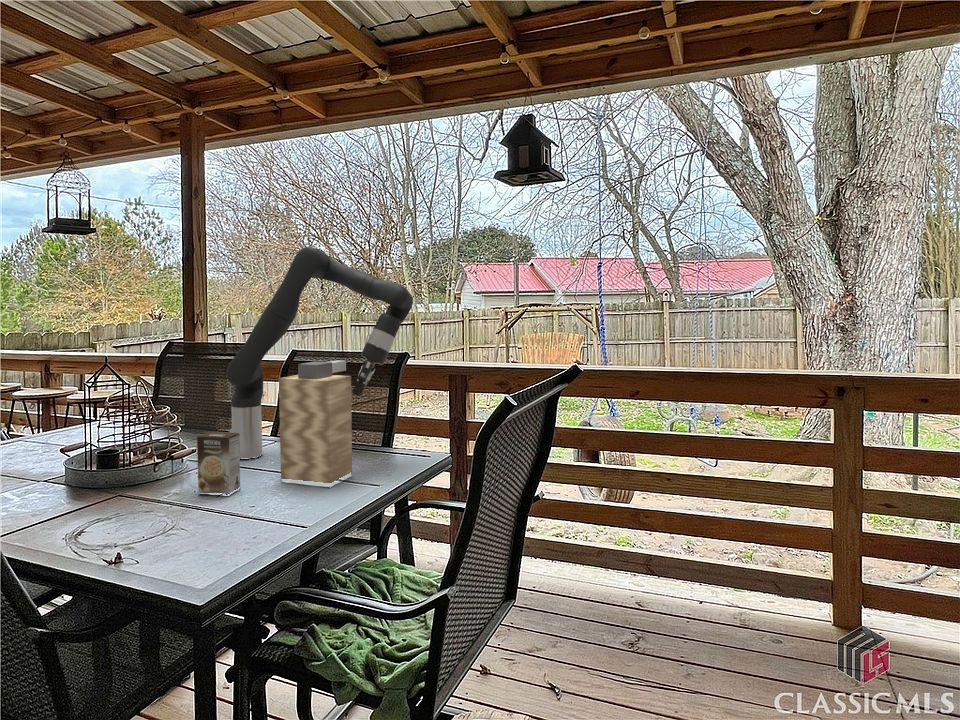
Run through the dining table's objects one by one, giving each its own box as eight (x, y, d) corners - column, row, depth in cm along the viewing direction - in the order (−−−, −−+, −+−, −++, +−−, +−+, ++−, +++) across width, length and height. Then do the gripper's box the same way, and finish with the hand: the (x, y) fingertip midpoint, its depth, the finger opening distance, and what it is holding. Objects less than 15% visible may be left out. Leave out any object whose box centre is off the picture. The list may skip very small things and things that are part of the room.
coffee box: (197, 495, 161) (194, 436, 159) (210, 488, 167) (208, 431, 166) (230, 497, 160) (228, 437, 159) (241, 489, 166) (240, 432, 165)
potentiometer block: (298, 378, 171) (298, 364, 170) (333, 371, 188) (333, 358, 188) (316, 379, 169) (316, 364, 168) (350, 372, 186) (350, 359, 186)
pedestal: (281, 482, 173) (278, 378, 170) (305, 471, 184) (303, 373, 182) (330, 488, 168) (328, 380, 165) (352, 476, 180) (351, 376, 177)
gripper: (367, 344, 193) (346, 391, 191) (365, 338, 179) (342, 389, 177) (389, 353, 194) (368, 400, 191) (389, 349, 180) (366, 399, 177)
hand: (356, 395), depth 184 cm, fingers open, 8 cm apart
